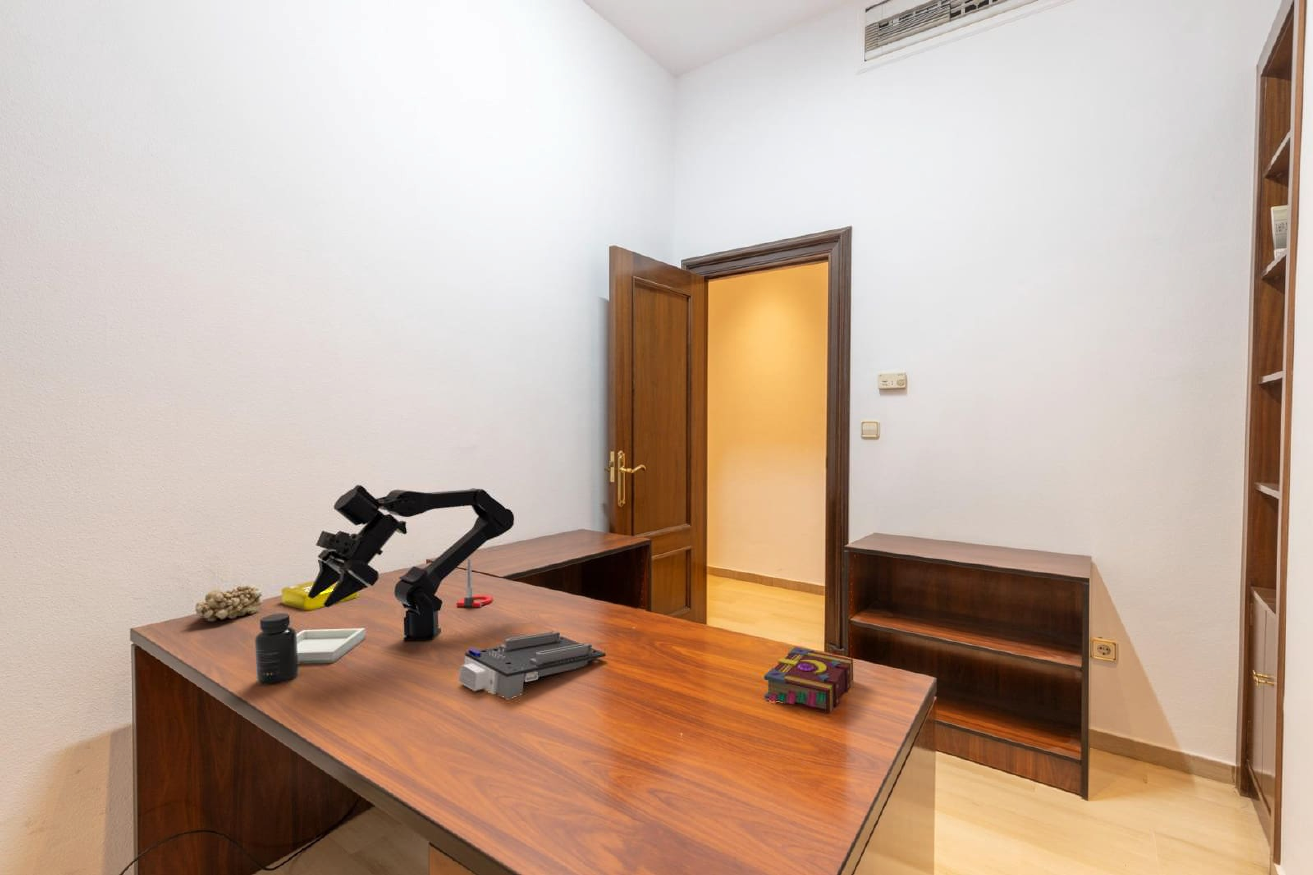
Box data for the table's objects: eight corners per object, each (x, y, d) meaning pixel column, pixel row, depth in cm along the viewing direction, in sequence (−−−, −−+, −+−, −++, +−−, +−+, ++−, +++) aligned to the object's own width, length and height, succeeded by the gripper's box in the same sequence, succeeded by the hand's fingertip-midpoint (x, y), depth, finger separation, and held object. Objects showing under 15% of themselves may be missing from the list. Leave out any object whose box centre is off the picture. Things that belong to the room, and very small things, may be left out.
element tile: (362, 597, 170) (361, 580, 170) (308, 612, 158) (307, 594, 158) (332, 590, 178) (332, 574, 178) (279, 604, 166) (278, 587, 166)
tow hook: (469, 599, 167) (452, 607, 158) (468, 552, 167) (452, 558, 158) (497, 599, 166) (482, 608, 157) (497, 553, 166) (482, 559, 157)
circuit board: (604, 679, 120) (559, 659, 130) (607, 644, 120) (562, 628, 131) (493, 706, 102) (452, 681, 112) (497, 665, 102) (455, 644, 113)
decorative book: (855, 682, 108) (854, 655, 108) (828, 721, 95) (827, 690, 95) (794, 669, 115) (794, 643, 115) (761, 703, 101) (760, 674, 101)
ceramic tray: (365, 637, 136) (365, 628, 136) (333, 662, 123) (333, 651, 122) (303, 639, 136) (303, 630, 136) (264, 664, 122) (264, 653, 122)
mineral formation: (269, 609, 160) (227, 624, 145) (220, 618, 160) (174, 635, 145) (264, 579, 160) (222, 591, 145) (216, 588, 160) (169, 602, 145)
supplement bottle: (269, 672, 119) (266, 612, 118) (305, 670, 119) (303, 610, 119) (248, 687, 112) (246, 623, 111) (287, 685, 112) (284, 621, 112)
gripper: (326, 511, 130) (270, 572, 123) (360, 519, 118) (299, 587, 110) (365, 541, 136) (313, 601, 129) (401, 552, 124) (346, 619, 116)
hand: (317, 601), depth 121 cm, fingers open, 9 cm apart
